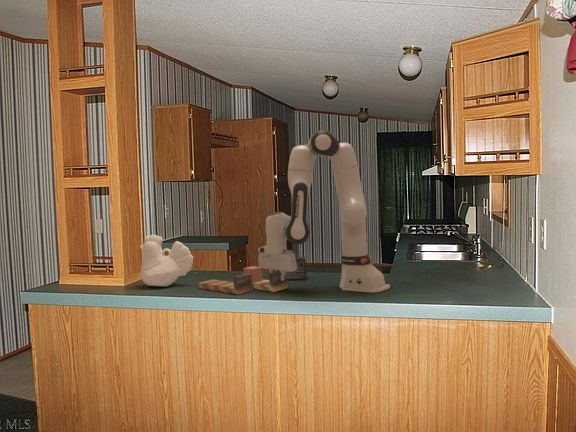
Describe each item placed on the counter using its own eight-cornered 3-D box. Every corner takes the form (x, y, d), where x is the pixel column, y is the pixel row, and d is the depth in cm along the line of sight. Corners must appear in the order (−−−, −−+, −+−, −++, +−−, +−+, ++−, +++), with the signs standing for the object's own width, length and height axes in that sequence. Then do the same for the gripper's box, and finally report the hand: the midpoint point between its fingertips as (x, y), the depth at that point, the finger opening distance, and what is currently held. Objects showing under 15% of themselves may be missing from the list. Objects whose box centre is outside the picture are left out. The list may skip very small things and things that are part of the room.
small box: (306, 277, 274) (306, 256, 273) (305, 280, 268) (305, 258, 267) (285, 277, 275) (284, 256, 274) (284, 280, 269) (283, 259, 268)
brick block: (262, 280, 258) (261, 267, 258) (253, 282, 254) (252, 269, 253) (253, 278, 262) (252, 266, 261) (244, 281, 257) (243, 268, 257)
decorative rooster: (135, 289, 262) (132, 236, 260) (151, 282, 277) (147, 232, 275) (185, 290, 256) (181, 236, 254) (198, 282, 271) (195, 232, 269)
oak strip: (252, 290, 248) (251, 273, 247) (238, 294, 241) (237, 277, 240) (213, 284, 265) (212, 268, 264) (199, 288, 258) (198, 272, 258)
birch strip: (287, 288, 250) (286, 271, 249) (274, 291, 243) (273, 274, 243) (246, 282, 267) (246, 266, 267) (233, 285, 260) (232, 269, 260)
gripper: (299, 249, 242) (300, 280, 243) (265, 246, 255) (266, 276, 256) (289, 251, 237) (291, 283, 238) (255, 248, 251) (256, 278, 252)
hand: (278, 279), depth 247 cm, fingers closed on birch strip, 3 cm apart
